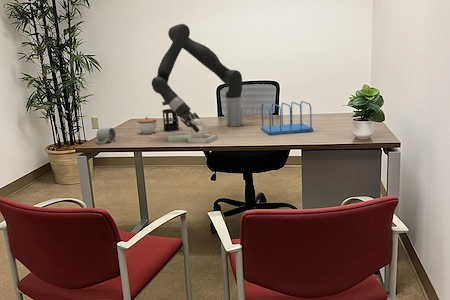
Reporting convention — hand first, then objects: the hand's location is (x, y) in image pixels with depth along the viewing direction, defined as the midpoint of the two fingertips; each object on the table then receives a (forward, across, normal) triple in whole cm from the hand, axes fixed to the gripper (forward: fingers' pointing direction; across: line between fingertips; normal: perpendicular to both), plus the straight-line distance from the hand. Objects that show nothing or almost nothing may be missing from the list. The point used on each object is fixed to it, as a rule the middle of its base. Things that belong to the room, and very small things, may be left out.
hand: (200, 130), depth 235 cm
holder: (+4, 0, +3) cm, 6 cm away
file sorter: (+30, +33, -22) cm, 50 cm away
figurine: (+3, 0, +5) cm, 6 cm away
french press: (-18, +24, +26) cm, 40 cm away
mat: (-6, +1, +14) cm, 15 cm away
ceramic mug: (-32, -14, +40) cm, 53 cm away
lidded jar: (-25, +12, +33) cm, 43 cm away
